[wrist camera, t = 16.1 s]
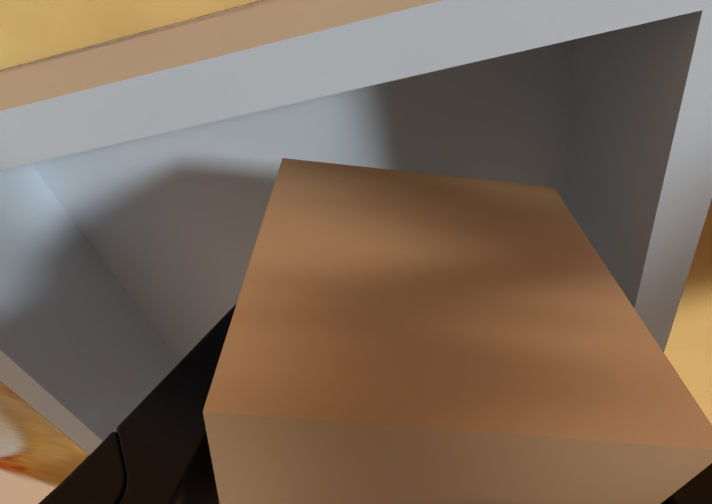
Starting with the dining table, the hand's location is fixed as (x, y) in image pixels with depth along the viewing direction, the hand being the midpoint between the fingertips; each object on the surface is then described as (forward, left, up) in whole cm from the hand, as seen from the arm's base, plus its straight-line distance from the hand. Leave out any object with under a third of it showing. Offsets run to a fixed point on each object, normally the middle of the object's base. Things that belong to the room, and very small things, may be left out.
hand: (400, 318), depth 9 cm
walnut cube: (0, 0, -1) cm, 1 cm away
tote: (+2, +5, -5) cm, 7 cm away
